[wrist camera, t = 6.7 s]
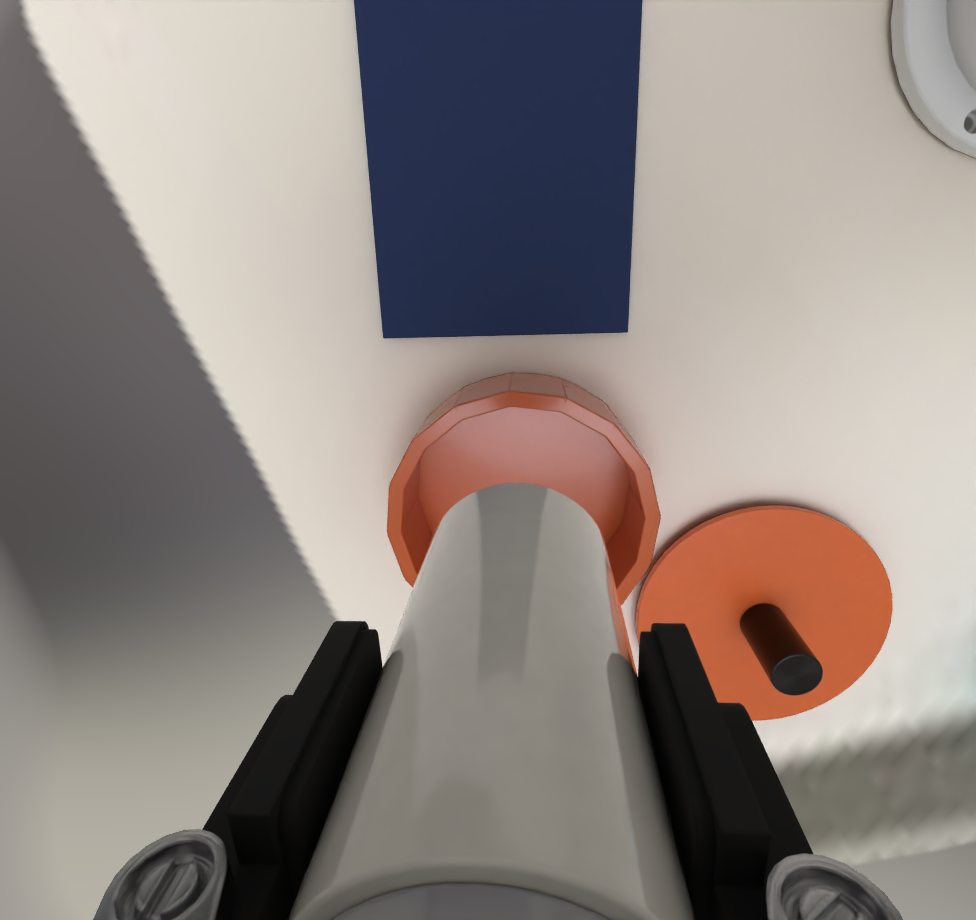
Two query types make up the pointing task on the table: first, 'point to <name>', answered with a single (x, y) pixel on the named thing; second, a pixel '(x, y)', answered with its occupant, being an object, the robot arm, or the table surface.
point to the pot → (526, 466)
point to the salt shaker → (503, 740)
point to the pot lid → (773, 606)
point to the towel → (501, 163)
